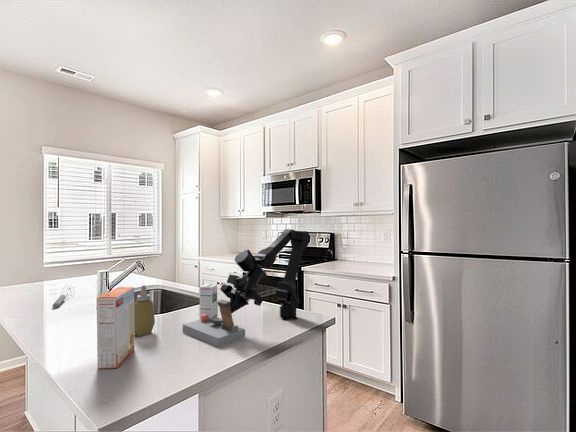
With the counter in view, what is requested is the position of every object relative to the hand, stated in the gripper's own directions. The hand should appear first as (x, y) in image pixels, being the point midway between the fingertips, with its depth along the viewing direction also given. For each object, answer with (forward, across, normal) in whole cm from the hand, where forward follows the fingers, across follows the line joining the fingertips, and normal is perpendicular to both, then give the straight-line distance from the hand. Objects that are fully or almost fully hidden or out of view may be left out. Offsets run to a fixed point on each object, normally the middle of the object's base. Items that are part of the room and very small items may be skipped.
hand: (228, 313), depth 121 cm
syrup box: (0, -24, +13) cm, 28 cm away
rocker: (+3, -8, +4) cm, 10 cm away
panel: (+7, -7, +5) cm, 11 cm away
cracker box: (+30, -12, -18) cm, 37 cm away
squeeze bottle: (+19, -28, -6) cm, 34 cm away
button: (+4, -15, +4) cm, 16 cm away
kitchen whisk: (+23, -105, -9) cm, 108 cm away
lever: (+3, 0, +4) cm, 5 cm away
